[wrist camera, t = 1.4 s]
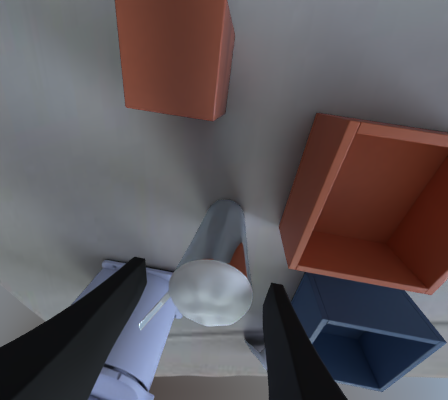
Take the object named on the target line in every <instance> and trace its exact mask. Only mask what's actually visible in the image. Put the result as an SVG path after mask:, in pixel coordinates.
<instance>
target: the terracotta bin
mask: <svg viewBox="0 0 448 400" xmlns="http://www.w3.org/2000/svg"><path fill="white" fill-rule="evenodd" d="M279 229H280V234H281V238H282V243H283V247H284V251H285V256H286V260H287V264H288V268H289V269H293V270H298V271H304V272H309V273H314V274H320V275H325V276H331V277H336V278H341V279H347V280H352V281H358V282H363V283H369V284H374V285H379V286H385V287H390V288H396V289H401V290H406V291H412V292H417V293H424V294H428V295H432V294H433V293H434V292H435V291H436V290H437V289H438V288H439V287H440V286H441V285H442V284H443V283H444V282H445V281H446V280H447V279H448V133H447V132H440V131H434V130H427V129H421V128H414V127H408V126H401V125H395V124H388V123H381V122H375V121H368V120H362V119H355V118H349V117H342V116H336V115H329V114H323V113H316V116H315V119H314V122H313V125H312V128H311V131H310V134H309V137H308V140H307V143H306V146H305V149H304V152H303V155H302V158H301V161H300V164H299V167H298V170H297V173H296V176H295V179H294V182H293V185H292V188H291V191H290V195H289V198H288V201H287V204H286V207H285V210H284V213H283V216H282V219H281V222H280V225H279Z"/></svg>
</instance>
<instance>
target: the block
mask: <svg viewBox="0 0 448 400" xmlns="http://www.w3.org/2000/svg"><path fill="white" fill-rule="evenodd" d="M115 7H116V17H117V27H118V37H119V47H120V57H121V67H122V77H123V87H124V97H125V106H126V107H127V108H132V109H138V110H144V111H151V112H157V113H163V114H170V115H176V116H182V117H189V118H195V119H201V120H208V121H214V120H216V119H218V118H219V117H221V116H222V115H224V114H225V112H226V104H227V96H228V88H229V80H230V72H231V64H232V56H233V48H234V40H235V33H234V28H233V24H232V20H231V15H230V11H229V6H228V2H227V0H115Z"/></svg>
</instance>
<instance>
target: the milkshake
mask: <svg viewBox="0 0 448 400" xmlns="http://www.w3.org/2000/svg"><path fill="white" fill-rule="evenodd" d="M170 297H171V299H172V301H173V303H174V304H175V306H176V307H177V309H178V310H179V311H180V313H181V314H182V315H183V316H185V317H186V318H188V319H190V320H192V321H195V322H197V323H199V324H202V325H204V326H226V325H231V324H233V323H235V322H237V321H238V320H239V319H241V318H242V317H243V316H244V315H245V314H246V313H247V311H248V310H249V309H250V307H251V304H252V300H253V291H252V282H251V274H250V267H249V259H248V249H247V237H246V226H245V216H244V213H243V211H242V208H241V206H240V205H239V204H237V203H236V202H234V201H232V200H231V199H225V200H218V201H216V202H215V203H214V204H212V205H211V206H210V207H209V209H208V211H207V213H206V215H205V217H204V218H203V220H202V222H201V224H200V226H199V228H198V230H197V232H196V234H195V236H194V238H193V240H192V241H191V243H190V245H189V247H188V248H187V250H186V252H185V254H184V255H183V257H182V259H181V261H180V262H179V264H178V266H177V268H176V269H175V271H174V273H173V274H172V276H171V278H170V280H169V291H168V292H167V293H166V294H165V295H164V296H163V297H162V299H161V300H160V301H159V302H158V303H157V304H156V305H155V306H154V307H153V309H152V310H151V311H150V312H149V313H148V314H147V315H146V316H145V317H144V318H143V320H142V321H141V322H140V323H139V324H138V327H139V329H140V330H142V329H143V328H144V327H145V325H146V324H147V323H148V322H149V321H150V320H151V319H152V317H153V316H154V315H155V314H156V313H157V312H158V311H159V309H160V308H161V307H162V306H163V305H164V304H165V303H166V301H167V300H168V299H169V298H170Z"/></svg>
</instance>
